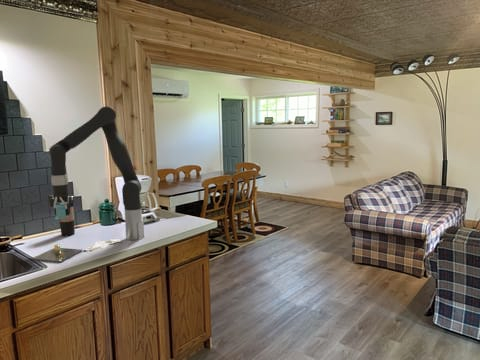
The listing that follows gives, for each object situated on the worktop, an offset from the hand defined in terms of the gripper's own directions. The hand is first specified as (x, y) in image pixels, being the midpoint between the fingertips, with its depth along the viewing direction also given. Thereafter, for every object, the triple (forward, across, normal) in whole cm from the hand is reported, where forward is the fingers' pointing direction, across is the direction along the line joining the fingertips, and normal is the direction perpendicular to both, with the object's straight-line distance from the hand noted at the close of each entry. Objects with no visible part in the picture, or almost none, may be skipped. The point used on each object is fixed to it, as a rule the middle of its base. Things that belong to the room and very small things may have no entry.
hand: (62, 215), depth 189 cm
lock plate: (+17, -6, +13) cm, 22 cm away
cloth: (+18, -18, -7) cm, 27 cm away
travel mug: (+18, +13, -19) cm, 29 cm away
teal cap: (+1, 0, 0) cm, 1 cm away
